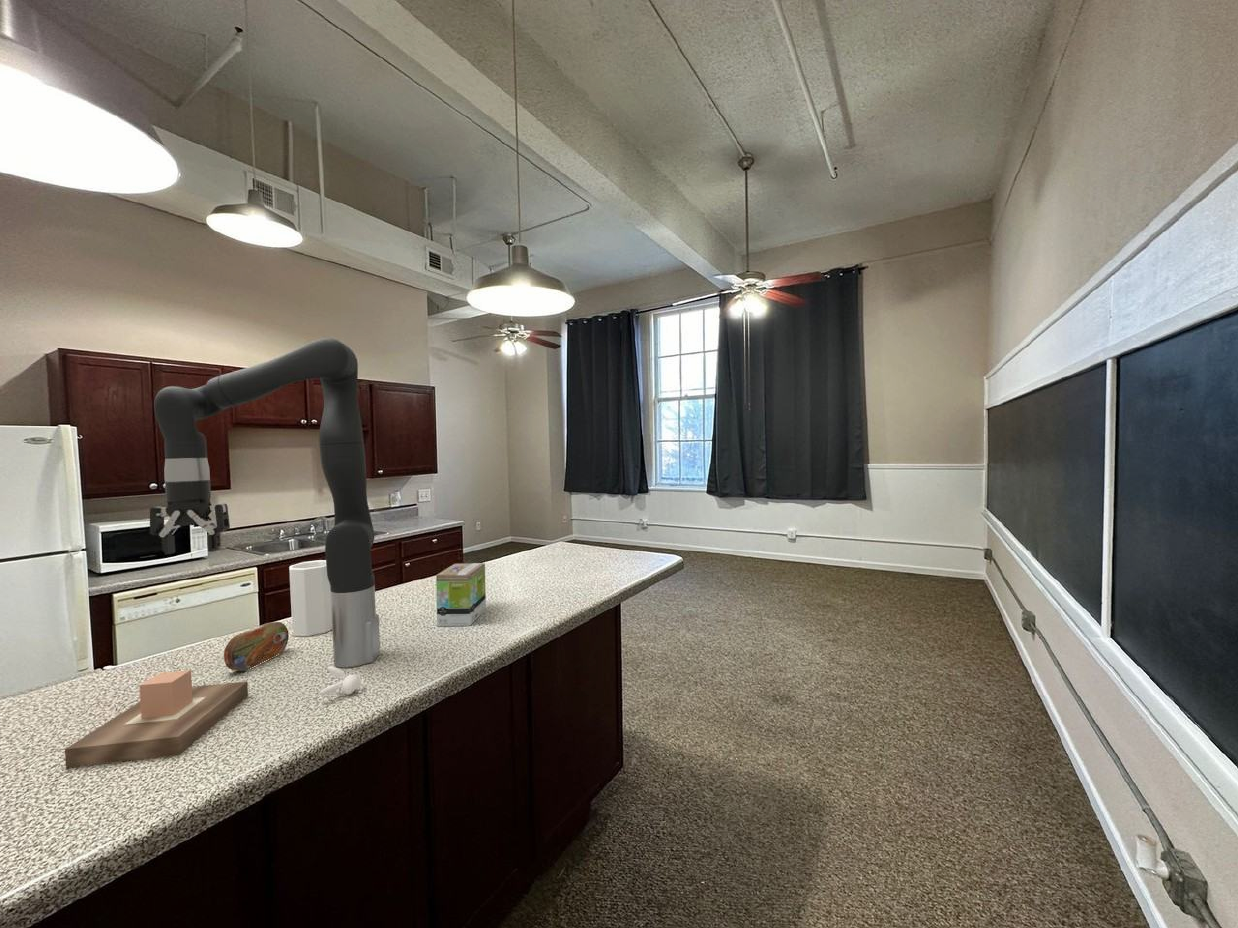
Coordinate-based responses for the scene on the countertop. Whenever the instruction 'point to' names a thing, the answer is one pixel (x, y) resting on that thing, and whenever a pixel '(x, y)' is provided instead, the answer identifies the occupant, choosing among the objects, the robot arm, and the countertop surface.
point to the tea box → (460, 594)
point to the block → (165, 694)
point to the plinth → (156, 728)
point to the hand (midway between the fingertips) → (191, 552)
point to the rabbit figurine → (343, 682)
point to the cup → (310, 598)
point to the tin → (256, 646)
